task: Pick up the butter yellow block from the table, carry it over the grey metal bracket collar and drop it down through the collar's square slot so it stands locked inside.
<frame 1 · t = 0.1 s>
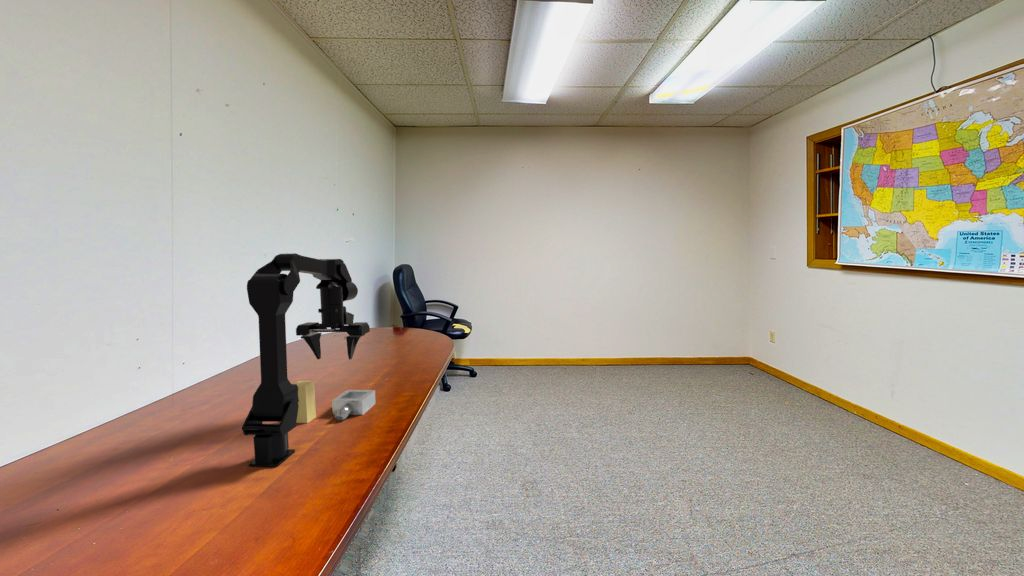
hand: (334, 359, 113), 14 cm above the table, fingers open, 9 cm apart
butter yellow block: (304, 419, 107), on the table
bracket head: (354, 408, 114), on the table
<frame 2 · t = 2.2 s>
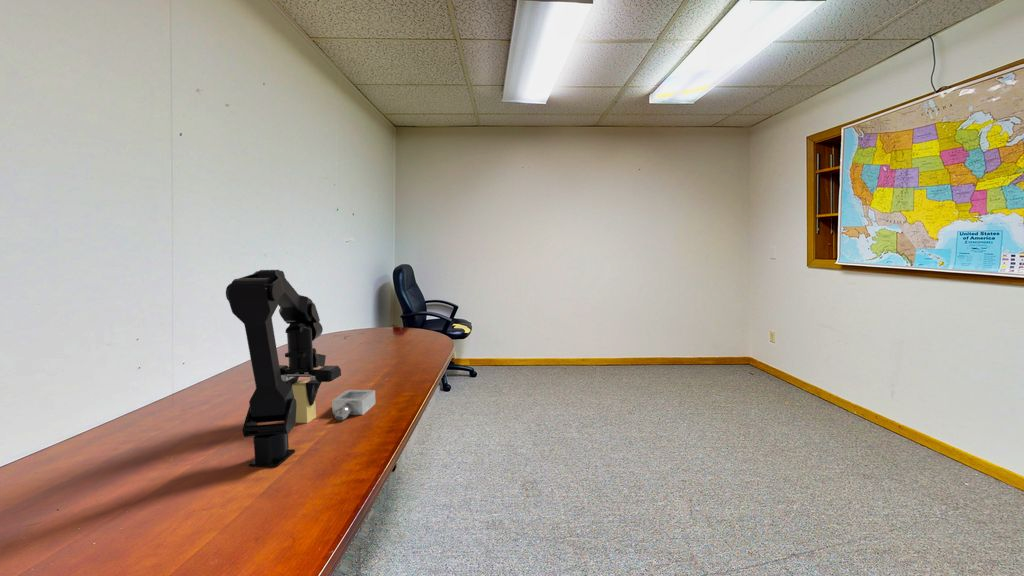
hand: (303, 405, 106), 4 cm above the table, fingers closed on butter yellow block, 4 cm apart
butter yellow block: (304, 419, 107), on the table, touching gripper
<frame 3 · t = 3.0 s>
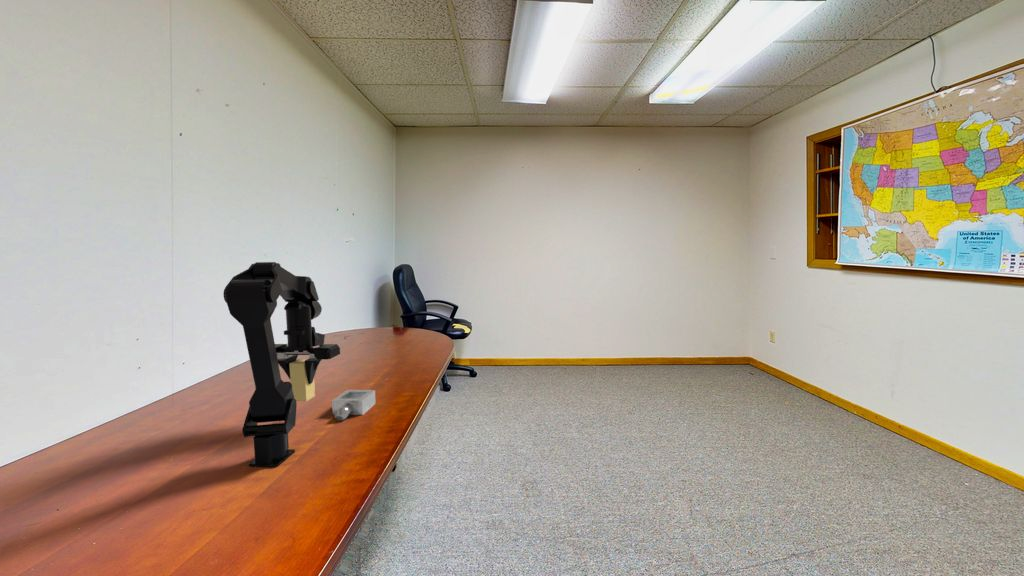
hand: (302, 383, 106), 10 cm above the table, fingers closed on butter yellow block, 4 cm apart
butter yellow block: (303, 398, 106), point 6 cm above the table, touching gripper
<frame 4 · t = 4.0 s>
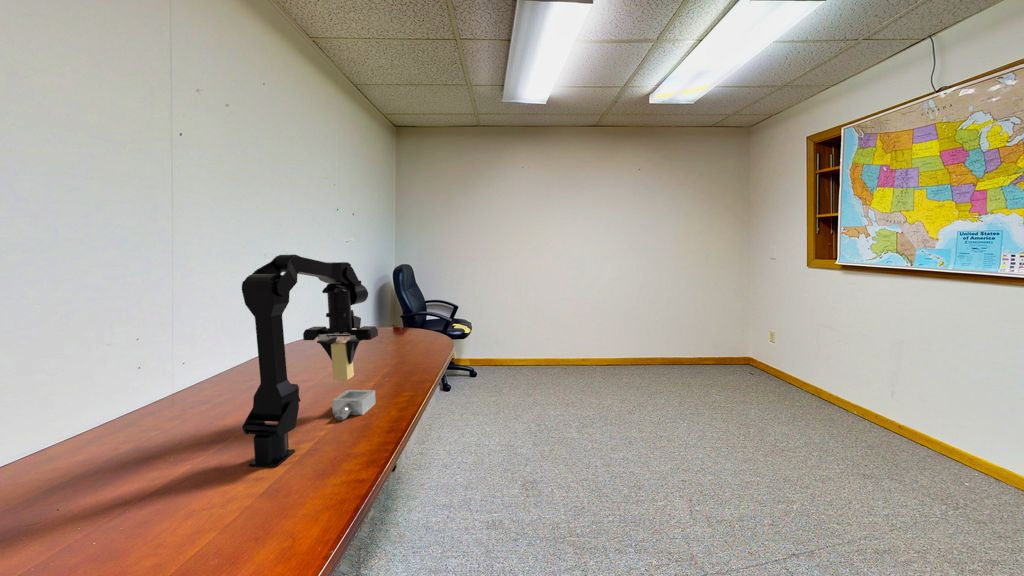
hand: (342, 363, 112), 13 cm above the table, fingers closed on butter yellow block, 4 cm apart
butter yellow block: (343, 377, 112), point 9 cm above the table, touching gripper
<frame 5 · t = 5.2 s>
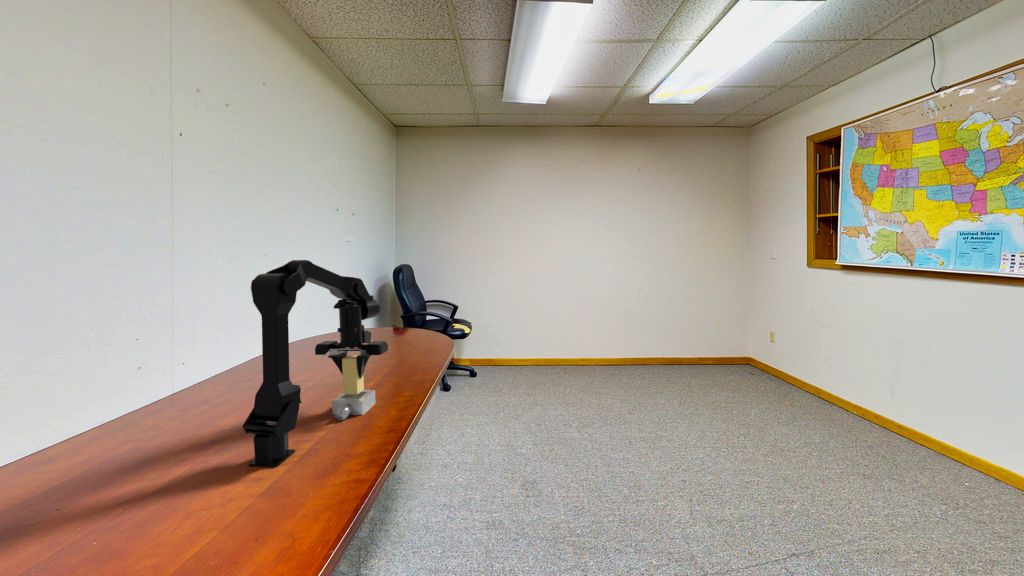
hand: (353, 377, 113), 9 cm above the table, fingers closed on butter yellow block, 4 cm apart
butter yellow block: (353, 391, 113), point 5 cm above the table, touching gripper
when the fingers open (5 cm above the table, at t = 6.3 s): butter yellow block drops 1 cm, resting in bracket head.
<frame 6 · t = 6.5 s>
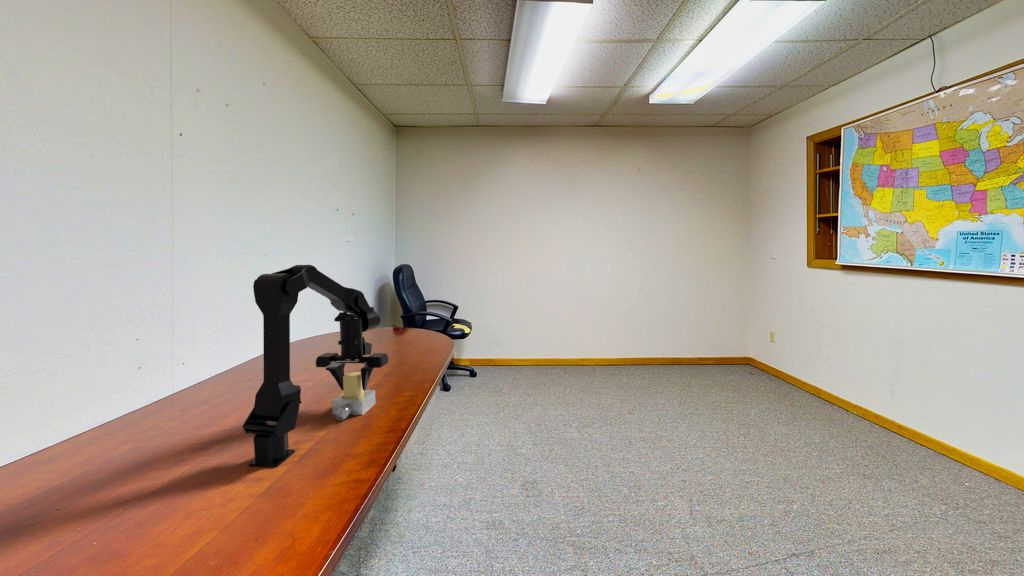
hand: (353, 389, 113), 5 cm above the table, fingers open, 6 cm apart
butter yellow block: (354, 408, 114), resting in bracket head
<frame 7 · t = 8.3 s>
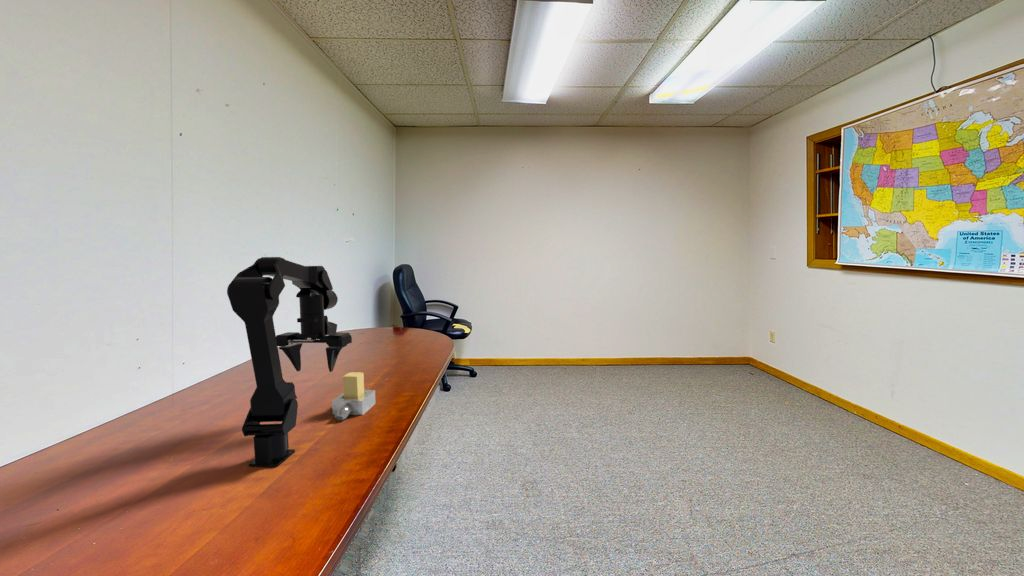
hand: (314, 371, 107), 13 cm above the table, fingers open, 9 cm apart
nothing on the table moved.
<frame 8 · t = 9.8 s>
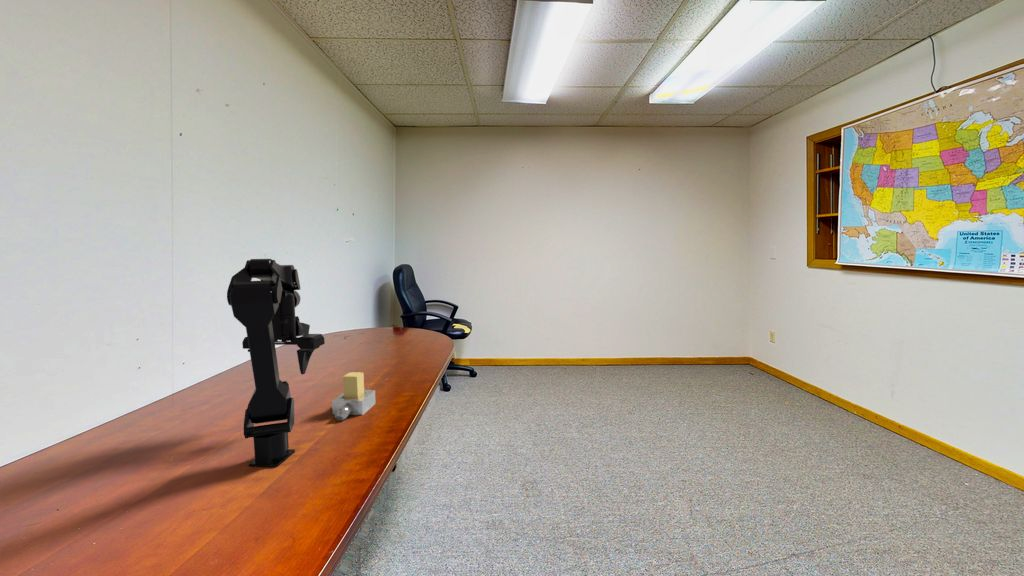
hand: (286, 373, 104), 13 cm above the table, fingers open, 9 cm apart
nothing on the table moved.
at the end: butter yellow block 0.0 cm off-centre on the bracket head, point 0.0 cm above the bracket head's base; butter yellow block tilted 0°; the gripper is holding nothing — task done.
